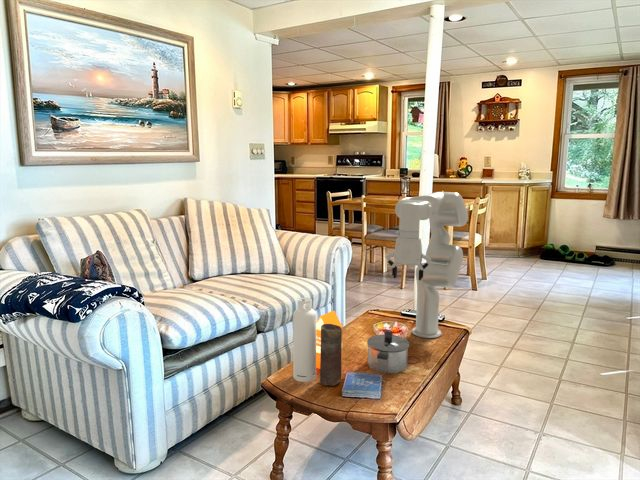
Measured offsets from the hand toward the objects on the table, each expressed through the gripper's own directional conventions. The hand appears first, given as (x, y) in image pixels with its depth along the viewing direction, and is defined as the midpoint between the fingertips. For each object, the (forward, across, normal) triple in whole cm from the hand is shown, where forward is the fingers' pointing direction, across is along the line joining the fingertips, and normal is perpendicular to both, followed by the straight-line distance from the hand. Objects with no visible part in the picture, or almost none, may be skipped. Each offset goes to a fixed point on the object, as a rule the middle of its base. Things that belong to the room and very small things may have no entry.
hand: (407, 278), depth 183 cm
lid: (+22, -4, -14) cm, 26 cm away
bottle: (+30, -29, -34) cm, 54 cm away
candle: (+30, -19, -35) cm, 50 cm away
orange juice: (+30, -25, -22) cm, 45 cm away
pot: (+30, -4, -14) cm, 33 cm away
